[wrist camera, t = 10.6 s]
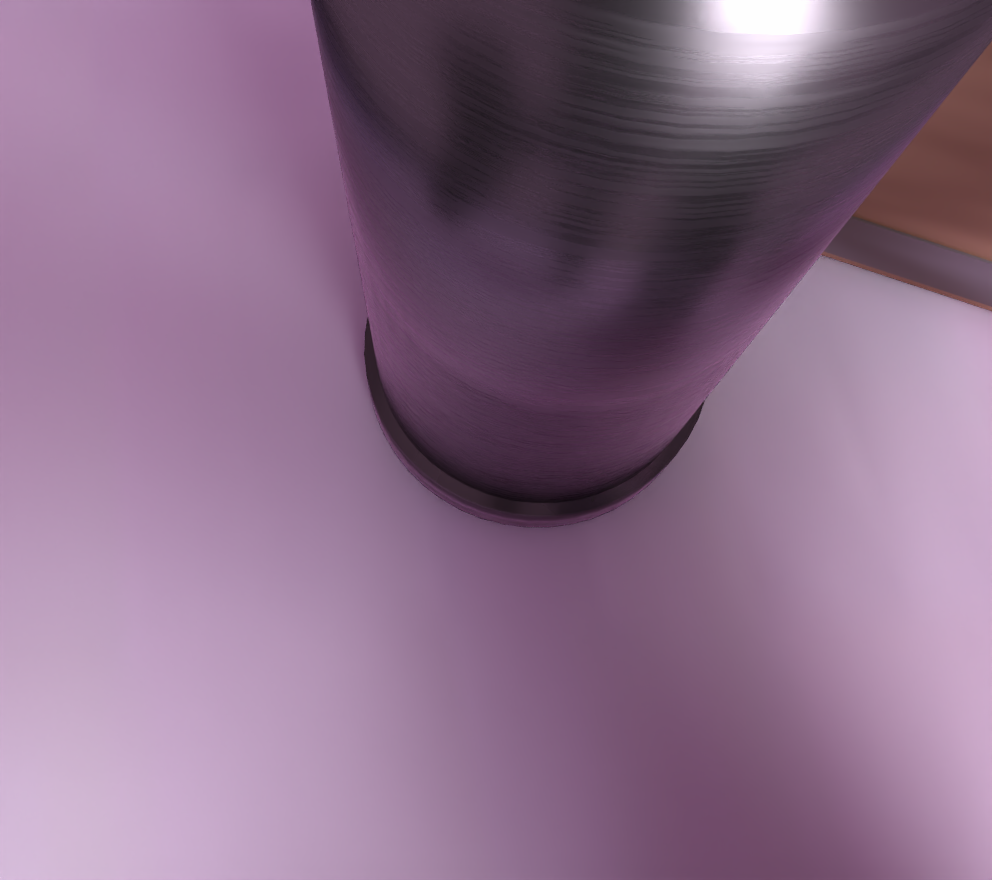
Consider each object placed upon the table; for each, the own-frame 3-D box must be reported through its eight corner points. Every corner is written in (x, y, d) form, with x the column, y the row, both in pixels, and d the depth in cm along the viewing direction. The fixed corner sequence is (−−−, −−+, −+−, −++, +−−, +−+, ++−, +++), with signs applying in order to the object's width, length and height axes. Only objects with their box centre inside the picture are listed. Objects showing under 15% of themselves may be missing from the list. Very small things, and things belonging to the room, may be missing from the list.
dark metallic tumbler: (587, 594, 16) (1042, 177, 4) (302, 407, 17) (-74, -448, 5) (753, 327, 18) (1440, -560, 6) (486, 167, 18) (573, -935, 6)
